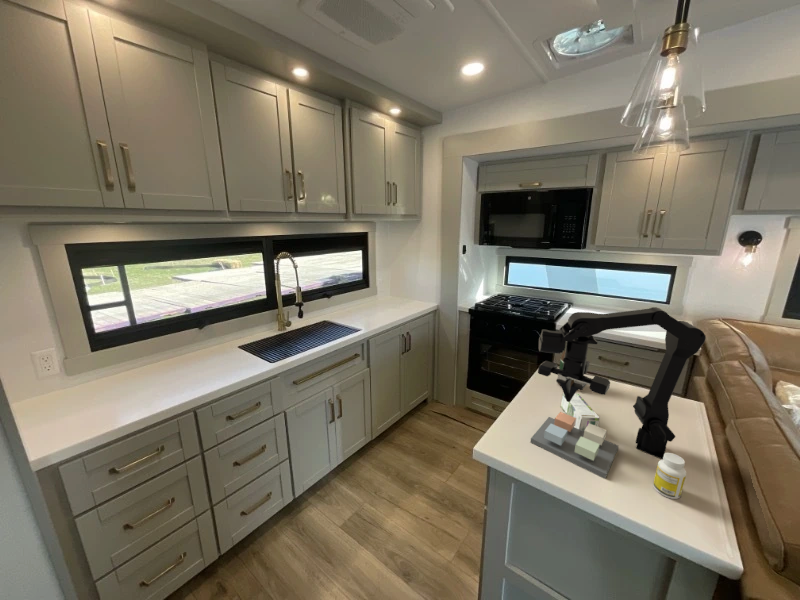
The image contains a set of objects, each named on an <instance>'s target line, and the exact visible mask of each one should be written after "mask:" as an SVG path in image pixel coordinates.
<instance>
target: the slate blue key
mask: <svg viewBox="0 0 800 600" xmlns="http://www.w3.org/2000/svg"><path fill="white" fill-rule="evenodd" d="M566 437H567V430H565V429H563V428H560V427H558V426H556V425H553V424H550V425H549V426H548V428H547V429H546V430H545V434H544V438H545V439H547V440H550V441H552V442H554V443H556V444H558V445H560V446H561V445H562V443H563V442H564V440H565V439H566Z"/></svg>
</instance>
